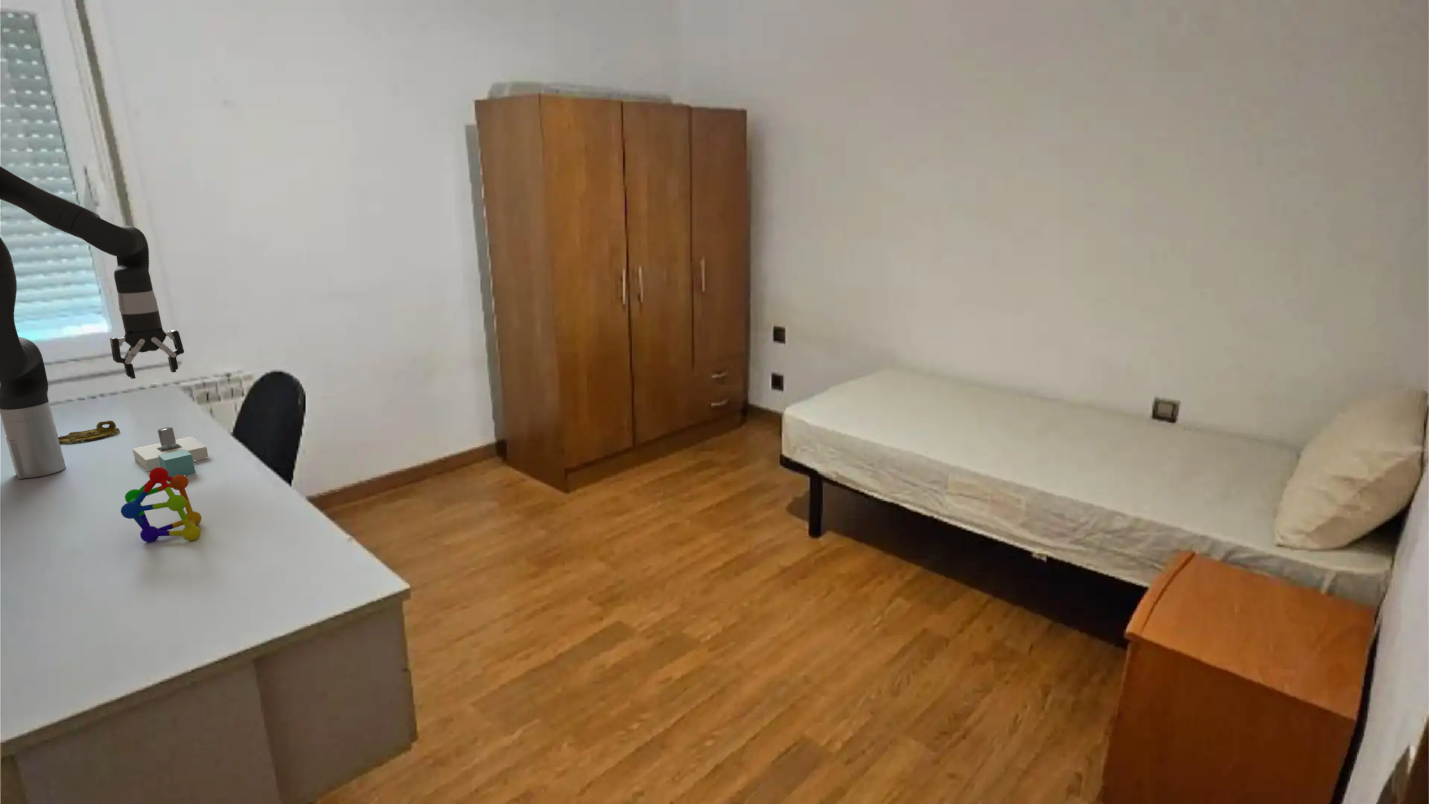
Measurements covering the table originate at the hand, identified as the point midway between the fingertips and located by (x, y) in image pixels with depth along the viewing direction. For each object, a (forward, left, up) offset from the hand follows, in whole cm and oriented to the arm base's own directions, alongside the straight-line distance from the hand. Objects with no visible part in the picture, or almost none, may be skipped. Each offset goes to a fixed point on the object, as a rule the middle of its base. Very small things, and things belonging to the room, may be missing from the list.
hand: (153, 375), depth 194 cm
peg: (0, 0, -22) cm, 22 cm away
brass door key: (-11, +39, -23) cm, 47 cm away
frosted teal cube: (-2, -14, -22) cm, 26 cm away
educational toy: (-14, -55, -22) cm, 61 cm away
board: (0, 0, -22) cm, 22 cm away
